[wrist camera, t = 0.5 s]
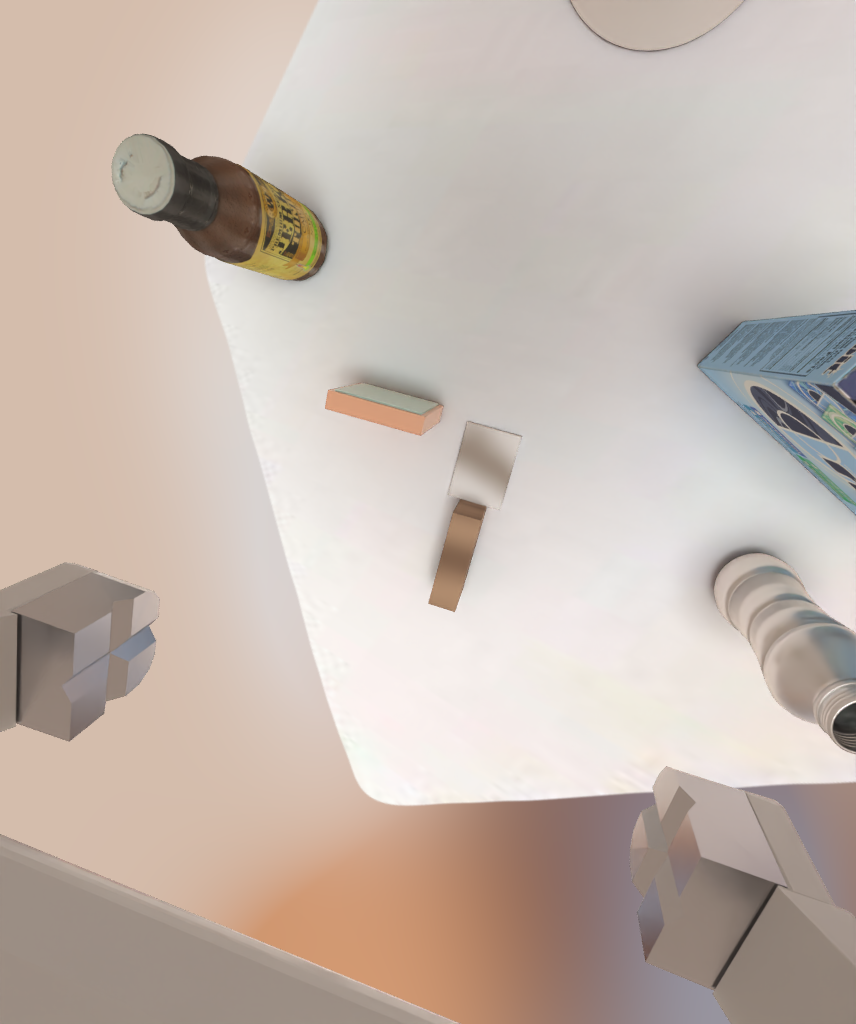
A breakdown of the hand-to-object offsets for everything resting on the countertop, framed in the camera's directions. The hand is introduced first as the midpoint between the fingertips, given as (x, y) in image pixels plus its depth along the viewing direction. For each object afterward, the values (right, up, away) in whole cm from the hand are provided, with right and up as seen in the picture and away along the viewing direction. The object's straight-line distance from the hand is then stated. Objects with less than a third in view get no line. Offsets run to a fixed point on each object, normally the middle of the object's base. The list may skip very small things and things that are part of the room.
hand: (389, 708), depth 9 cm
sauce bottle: (-11, +27, +41) cm, 50 cm away
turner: (+5, +4, +44) cm, 45 cm away
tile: (-3, +12, +39) cm, 41 cm away
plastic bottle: (+29, -3, +41) cm, 50 cm away
